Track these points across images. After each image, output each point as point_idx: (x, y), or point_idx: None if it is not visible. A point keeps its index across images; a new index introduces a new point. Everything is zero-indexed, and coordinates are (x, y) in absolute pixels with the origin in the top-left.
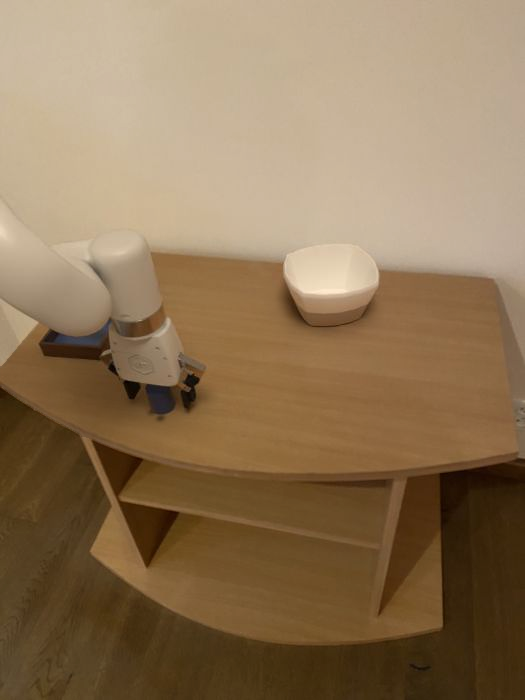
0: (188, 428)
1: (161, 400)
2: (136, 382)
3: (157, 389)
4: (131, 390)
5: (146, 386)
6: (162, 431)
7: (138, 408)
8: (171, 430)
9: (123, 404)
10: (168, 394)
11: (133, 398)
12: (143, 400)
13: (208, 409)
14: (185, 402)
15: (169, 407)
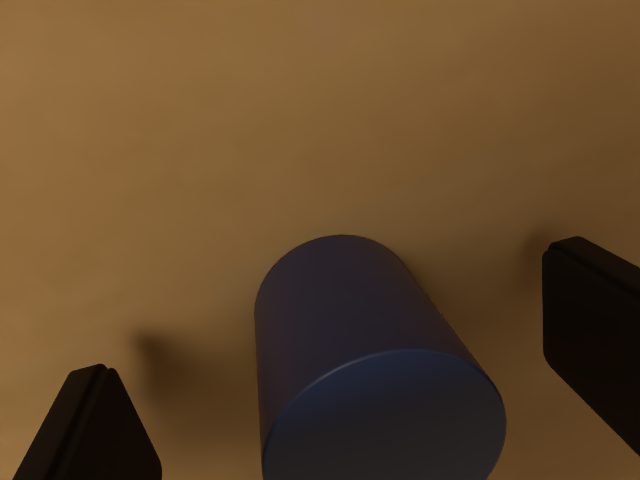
0: (28, 232)
1: (291, 342)
2: (605, 389)
3: (371, 430)
4: (611, 306)
5: (496, 407)
6: (189, 121)
7: (477, 217)
8: (131, 160)
9: (588, 200)
10: (260, 421)
11: (549, 256)
12: (479, 283)
13: (36, 413)
14: (50, 425)
15: (258, 314)
